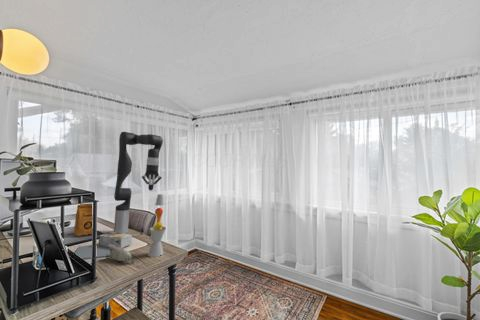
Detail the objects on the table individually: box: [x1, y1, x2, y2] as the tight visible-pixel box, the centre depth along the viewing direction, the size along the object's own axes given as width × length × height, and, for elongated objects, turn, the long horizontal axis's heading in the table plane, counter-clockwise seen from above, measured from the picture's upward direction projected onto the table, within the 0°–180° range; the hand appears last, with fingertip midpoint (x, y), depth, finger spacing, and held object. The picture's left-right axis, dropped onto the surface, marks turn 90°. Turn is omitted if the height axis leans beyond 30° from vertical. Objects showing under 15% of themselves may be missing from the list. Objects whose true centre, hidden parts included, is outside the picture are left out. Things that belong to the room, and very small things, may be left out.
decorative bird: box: [105, 244, 132, 265], centre depth 114 cm, size 5×16×7 cm, turn 68°
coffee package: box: [73, 203, 93, 237], centre depth 151 cm, size 10×12×22 cm
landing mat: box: [74, 244, 112, 260], centre depth 124 cm, size 20×22×1 cm
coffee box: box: [98, 231, 133, 249], centre depth 134 cm, size 9×6×16 cm
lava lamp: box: [147, 193, 167, 258], centre depth 126 cm, size 9×9×35 cm
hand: (150, 190), depth 143 cm, fingers closed
